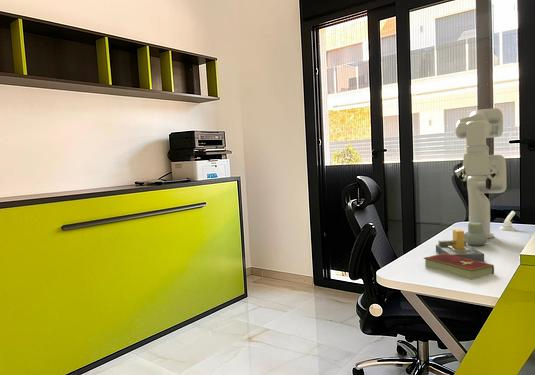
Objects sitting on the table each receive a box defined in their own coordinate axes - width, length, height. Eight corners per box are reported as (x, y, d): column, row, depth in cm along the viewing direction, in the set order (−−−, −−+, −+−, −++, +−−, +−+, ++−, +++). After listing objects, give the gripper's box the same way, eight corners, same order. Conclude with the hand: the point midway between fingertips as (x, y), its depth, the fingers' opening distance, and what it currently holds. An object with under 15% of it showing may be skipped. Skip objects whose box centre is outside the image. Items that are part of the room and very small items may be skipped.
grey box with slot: (435, 251, 182) (435, 240, 181) (466, 250, 181) (465, 239, 180) (450, 262, 164) (450, 250, 163) (484, 261, 163) (484, 249, 162)
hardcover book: (445, 262, 165) (445, 252, 165) (494, 275, 147) (494, 263, 146) (424, 267, 160) (423, 257, 160) (471, 281, 141) (471, 269, 141)
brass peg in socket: (453, 254, 175) (452, 229, 174) (460, 254, 174) (460, 229, 173) (456, 257, 170) (456, 231, 169) (464, 257, 170) (464, 231, 169)
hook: (527, 219, 217) (520, 213, 214) (514, 238, 218) (506, 232, 215) (515, 215, 224) (508, 209, 221) (502, 232, 225) (495, 227, 222)
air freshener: (488, 247, 185) (488, 225, 184) (468, 247, 186) (468, 225, 186) (481, 241, 195) (481, 221, 194) (463, 241, 197) (462, 221, 196)
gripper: (493, 148, 179) (493, 187, 180) (452, 151, 180) (452, 189, 182) (501, 148, 171) (501, 189, 173) (458, 151, 173) (459, 191, 175)
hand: (476, 189), depth 178 cm, fingers open, 9 cm apart
